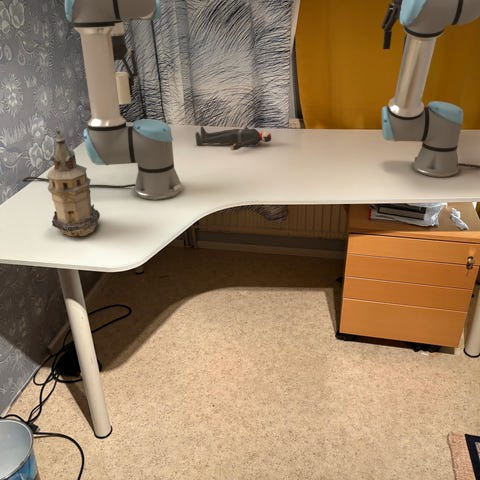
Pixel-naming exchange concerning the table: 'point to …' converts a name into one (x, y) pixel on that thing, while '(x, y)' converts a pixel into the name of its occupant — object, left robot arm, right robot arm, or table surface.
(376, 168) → the table surface
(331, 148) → the table surface
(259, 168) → the table surface
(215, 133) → the toy
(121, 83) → the can
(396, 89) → the right robot arm
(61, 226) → the miniature building
